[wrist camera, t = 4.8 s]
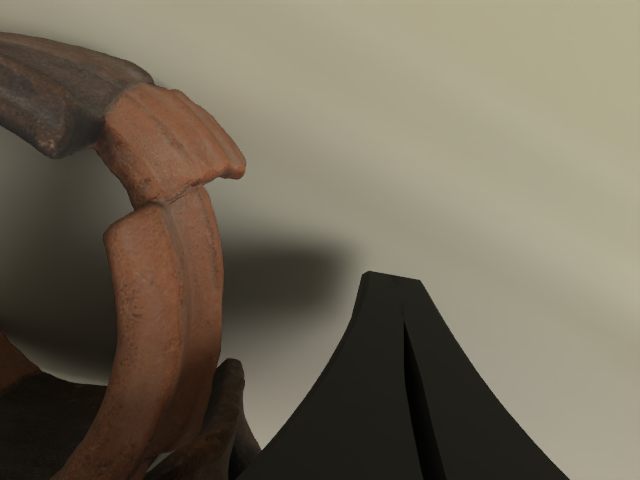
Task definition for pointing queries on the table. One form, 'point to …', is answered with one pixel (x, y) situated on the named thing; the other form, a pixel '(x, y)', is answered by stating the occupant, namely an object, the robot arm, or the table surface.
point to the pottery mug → (130, 281)
